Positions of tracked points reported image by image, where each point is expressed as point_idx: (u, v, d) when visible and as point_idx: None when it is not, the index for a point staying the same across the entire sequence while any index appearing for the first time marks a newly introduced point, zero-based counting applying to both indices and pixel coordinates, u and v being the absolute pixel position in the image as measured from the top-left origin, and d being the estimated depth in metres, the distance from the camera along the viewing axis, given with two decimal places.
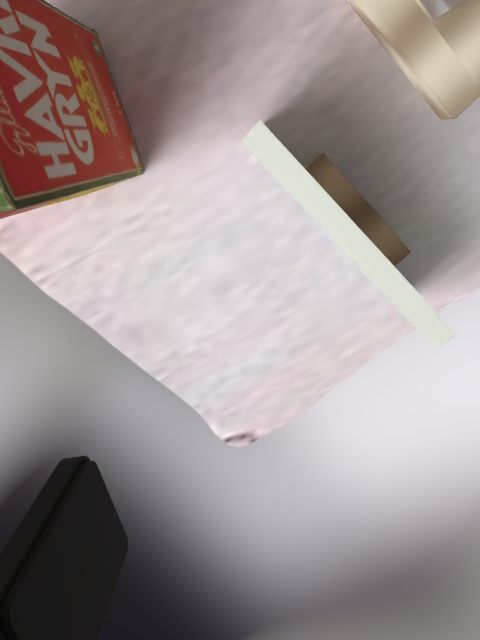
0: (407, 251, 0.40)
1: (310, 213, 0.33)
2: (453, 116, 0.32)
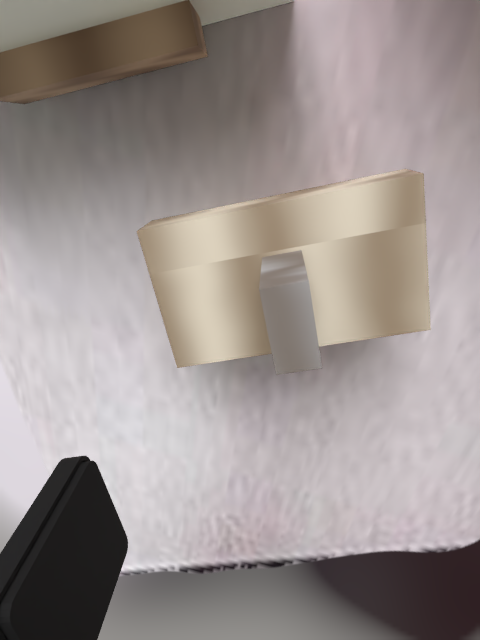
0: None
1: None
2: (141, 229, 0.22)
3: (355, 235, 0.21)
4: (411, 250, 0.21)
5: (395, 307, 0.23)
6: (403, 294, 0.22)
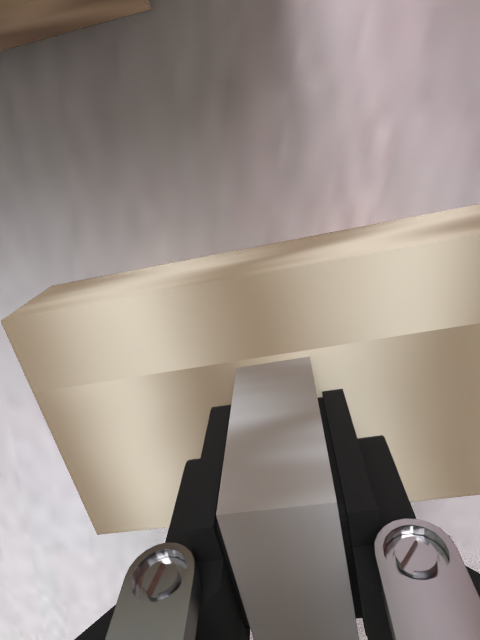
0: None
1: None
2: (11, 316, 0.12)
3: (412, 331, 0.11)
4: None
5: (479, 452, 0.12)
6: None
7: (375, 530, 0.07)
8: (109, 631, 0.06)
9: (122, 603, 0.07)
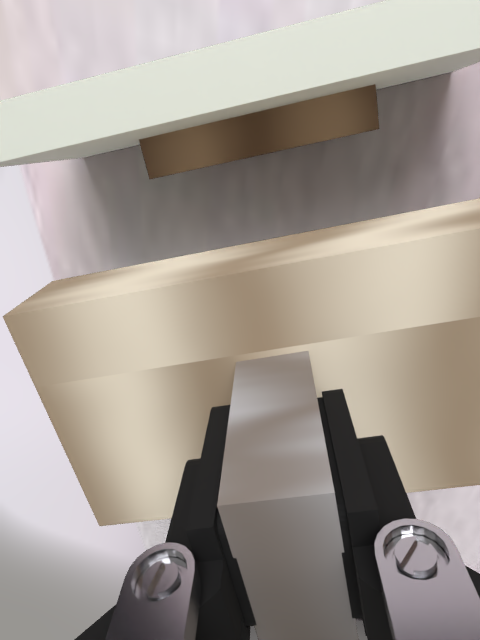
0: (152, 174, 0.23)
1: (359, 12, 0.14)
2: (13, 312, 0.12)
3: (409, 325, 0.11)
4: None
5: (475, 444, 0.13)
6: None
7: (375, 530, 0.07)
8: (109, 631, 0.06)
9: (122, 603, 0.07)
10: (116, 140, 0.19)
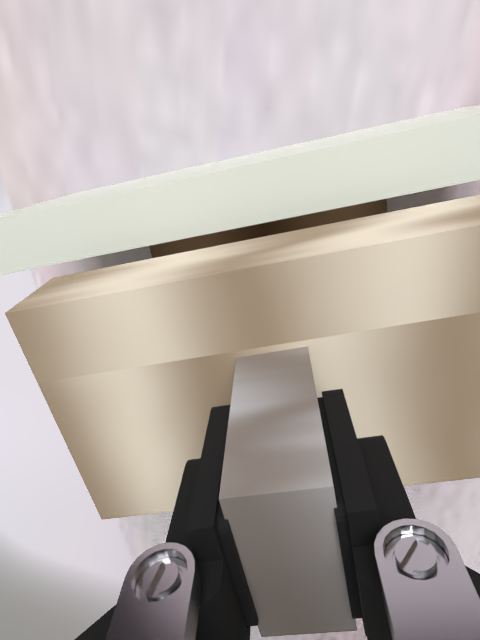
0: (157, 256, 0.23)
1: (373, 142, 0.14)
2: (15, 308, 0.12)
3: (407, 321, 0.12)
4: None
5: (471, 438, 0.13)
6: None
7: (375, 530, 0.07)
8: (109, 631, 0.06)
9: (122, 603, 0.07)
10: None
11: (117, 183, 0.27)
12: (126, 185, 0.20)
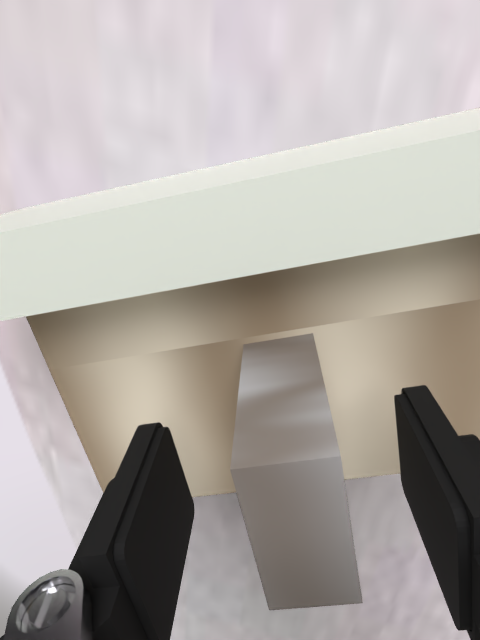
0: None
1: (446, 145, 0.08)
2: None
3: (410, 308, 0.12)
4: None
5: (473, 424, 0.13)
6: None
7: None
8: None
9: None
10: None
11: None
12: (73, 204, 0.14)
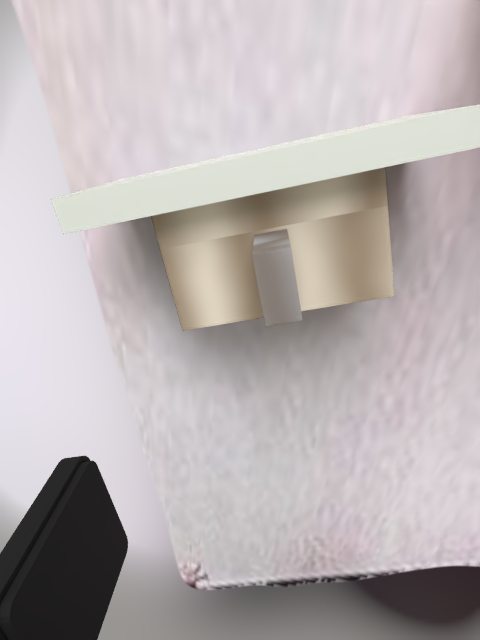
0: None
1: (332, 140, 0.22)
2: None
3: (331, 216, 0.26)
4: (376, 228, 0.26)
5: (365, 277, 0.27)
6: (371, 265, 0.27)
7: None
8: None
9: None
10: None
11: None
12: (166, 171, 0.28)
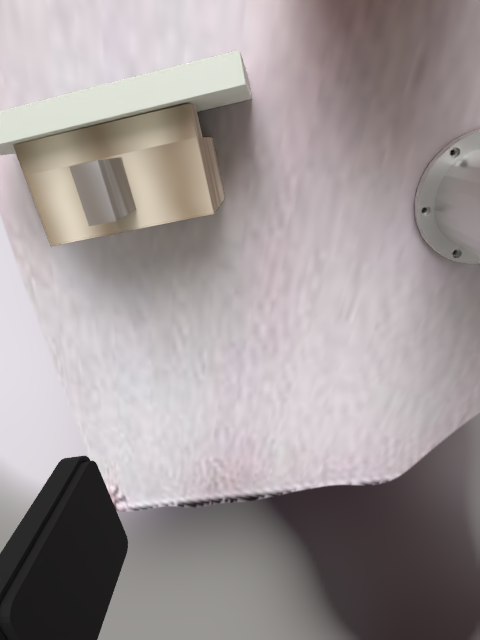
0: None
1: (133, 79, 0.29)
2: (16, 144, 0.33)
3: (155, 146, 0.33)
4: (191, 156, 0.33)
5: (188, 197, 0.34)
6: (192, 188, 0.33)
7: None
8: None
9: None
10: None
11: None
12: None
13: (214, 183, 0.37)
